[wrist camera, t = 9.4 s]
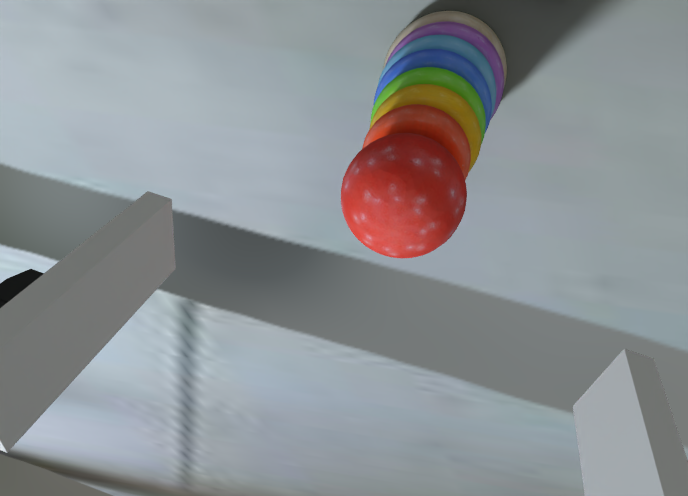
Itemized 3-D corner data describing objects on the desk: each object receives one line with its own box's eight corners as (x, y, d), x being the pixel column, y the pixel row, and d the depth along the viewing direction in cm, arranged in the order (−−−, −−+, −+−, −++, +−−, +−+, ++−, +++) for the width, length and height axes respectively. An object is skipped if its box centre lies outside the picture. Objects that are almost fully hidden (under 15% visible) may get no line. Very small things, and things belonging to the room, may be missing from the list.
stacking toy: (371, 31, 31) (256, 142, 16) (495, -11, 28) (489, 81, 13) (403, 140, 35) (333, 309, 20) (515, 114, 32) (527, 292, 17)
